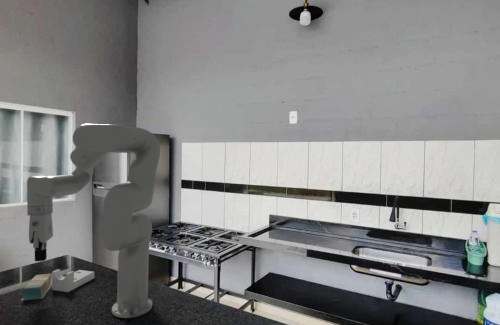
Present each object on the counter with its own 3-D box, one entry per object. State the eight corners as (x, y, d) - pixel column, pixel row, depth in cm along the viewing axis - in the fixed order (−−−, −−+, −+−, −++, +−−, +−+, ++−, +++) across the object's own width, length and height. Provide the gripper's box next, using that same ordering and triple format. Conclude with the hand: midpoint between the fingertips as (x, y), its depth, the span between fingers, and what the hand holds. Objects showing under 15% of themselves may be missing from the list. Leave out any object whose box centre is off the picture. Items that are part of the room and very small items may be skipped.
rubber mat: (42, 299, 105) (42, 298, 105) (20, 302, 103) (20, 300, 103) (58, 278, 123) (58, 276, 123) (40, 279, 121) (40, 278, 121)
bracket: (68, 294, 110) (68, 274, 110) (51, 292, 111) (52, 271, 111) (94, 280, 122) (94, 261, 122) (79, 278, 124) (79, 260, 124)
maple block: (51, 284, 116) (40, 298, 105) (36, 285, 114) (23, 300, 103) (51, 273, 116) (40, 287, 104) (36, 275, 114) (23, 288, 103)
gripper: (45, 213, 104) (45, 266, 104) (58, 206, 118) (58, 253, 118) (19, 214, 101) (19, 268, 102) (35, 207, 116) (36, 254, 116)
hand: (40, 260), depth 110 cm, fingers closed
